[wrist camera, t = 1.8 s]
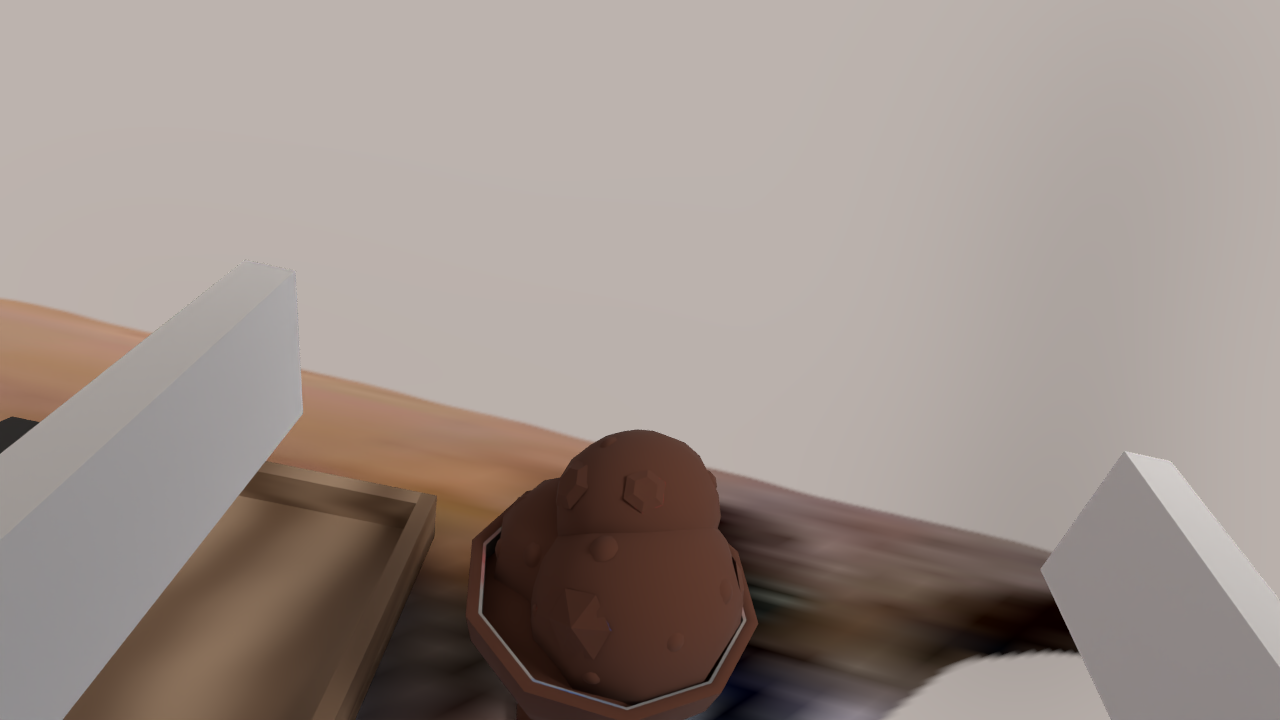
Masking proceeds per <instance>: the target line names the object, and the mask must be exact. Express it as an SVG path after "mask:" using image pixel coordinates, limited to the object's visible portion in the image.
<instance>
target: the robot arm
mask: <svg viewBox="0 0 1280 720" xmlns="http://www.w3.org/2000/svg"><path fill="white" fill-rule="evenodd" d="M302 414H303V404H302V385H301V367H300V348H299V329H298V312H297V292H296V273H295V270H290V269H286V268H281V267H276V266H272V265H267V264H263V263H258V262H254V261H249V260H244V261H243V262H242V263H240V264H239V265H238V266H237V267H235V268H234V269H233V270H232V271H230V272H229V273H228V274H227V275H225V276H224V277H223V278H221V279H220V280H219V281H218V282H216V283H215V284H214V285H213V286H211V287H210V288H209V289H208V290H206V291H205V292H204V293H202V294H201V295H200V296H199V297H198V298H196V299H195V300H194V301H192V302H191V303H190V304H189V305H187V306H186V307H185V308H184V309H182V310H181V311H180V312H179V313H177V314H176V315H175V316H173V317H172V318H171V319H170V320H168V321H167V322H166V323H165V324H163V325H162V326H161V327H160V328H158V329H157V330H156V331H155V332H153V333H152V334H151V335H149V336H148V337H147V338H146V339H144V340H143V341H142V342H141V343H139V344H138V345H137V346H136V347H134V348H133V349H132V350H131V351H129V352H128V353H127V354H126V355H124V356H123V357H122V358H120V359H119V360H118V361H117V362H115V363H114V364H113V365H112V366H110V367H109V368H108V369H107V370H105V371H104V372H103V373H102V374H100V375H99V376H98V377H97V378H95V379H94V380H93V381H91V382H90V383H89V384H88V385H86V386H85V387H84V388H83V389H81V390H80V391H79V392H78V393H76V394H75V395H74V396H73V397H71V398H70V399H69V400H68V401H66V402H65V403H64V404H62V405H61V406H60V407H59V408H57V409H56V410H55V411H54V412H52V413H51V414H50V415H49V416H47V417H46V418H45V419H44V420H42V421H41V422H36V421H31V420H26V419H21V418H17V417H10V418H8V419H5V420H3V421H1V422H0V720H63V719H64V717H65V716H66V715H67V713H68V712H69V711H70V710H71V708H72V707H73V706H74V705H75V703H76V702H77V701H78V699H79V698H80V697H81V696H82V694H83V693H84V692H85V690H86V689H87V688H88V687H89V685H90V684H91V683H92V682H93V680H94V679H95V678H96V676H97V675H98V674H99V673H100V671H101V670H102V669H103V668H104V666H105V665H106V664H107V662H108V661H109V660H110V659H111V657H112V656H113V655H114V654H115V652H116V651H117V650H118V648H119V647H120V646H121V645H122V643H123V642H124V641H125V640H126V638H127V637H128V636H129V634H130V633H131V632H132V631H133V629H134V628H135V627H136V626H137V624H138V623H139V622H140V620H141V619H142V618H143V617H144V615H145V614H146V613H147V612H148V610H149V609H150V608H151V606H152V605H153V604H154V603H155V601H156V600H157V599H158V597H159V596H160V595H161V594H162V592H163V591H164V590H165V589H166V587H167V586H168V585H169V583H170V582H171V581H172V580H173V578H174V577H175V576H176V575H177V573H178V572H179V571H180V569H181V568H182V567H183V566H184V564H185V563H186V562H187V561H188V559H189V558H190V557H191V555H192V554H193V553H194V552H195V550H196V549H197V548H198V547H199V545H200V544H201V543H202V541H203V540H204V539H205V538H206V536H207V535H208V534H209V533H210V531H211V530H212V529H213V527H214V526H215V525H216V524H217V522H218V521H219V520H220V518H221V517H222V516H223V515H224V513H225V512H226V511H227V510H228V508H229V507H230V506H231V504H232V503H233V502H234V501H235V499H236V498H237V497H238V496H239V494H240V493H241V492H242V490H243V489H244V488H245V487H246V485H247V484H248V483H249V482H250V480H251V479H252V478H253V476H254V475H255V474H256V473H257V471H258V470H259V469H260V468H261V466H262V465H263V464H264V462H265V461H266V460H267V459H268V457H269V456H270V455H271V454H272V452H273V451H274V450H275V448H276V447H277V446H278V445H279V443H280V442H281V441H282V439H283V438H284V437H285V436H286V434H287V433H288V432H289V431H290V429H291V428H292V427H293V425H294V424H295V423H296V422H297V420H298V419H299V418H300V417H301V415H302ZM1040 570H1041V572H1042V574H1043V576H1044V578H1045V580H1046V582H1047V585H1048V587H1049V589H1050V591H1051V593H1052V595H1053V597H1054V599H1055V602H1056V604H1057V606H1058V608H1059V610H1060V612H1061V614H1062V616H1063V619H1064V621H1065V623H1066V625H1067V627H1068V629H1069V631H1070V633H1071V636H1072V638H1073V640H1074V642H1075V644H1076V646H1077V648H1078V650H1079V653H1080V655H1081V657H1082V659H1083V661H1084V663H1085V665H1086V667H1087V670H1088V672H1089V674H1090V676H1091V678H1092V680H1093V682H1094V684H1095V686H1096V689H1097V691H1098V693H1099V695H1100V697H1101V699H1102V701H1103V703H1104V706H1105V708H1106V710H1107V712H1108V714H1109V716H1110V718H1111V720H1280V599H1279V598H1278V597H1277V596H1276V594H1275V593H1274V592H1273V590H1272V589H1271V588H1270V587H1269V585H1268V584H1267V583H1266V582H1265V580H1264V579H1263V578H1262V576H1261V575H1260V574H1259V573H1258V571H1257V570H1256V569H1255V568H1254V566H1253V565H1252V564H1251V562H1250V561H1249V560H1248V559H1247V557H1246V556H1245V555H1244V554H1243V552H1242V551H1241V550H1240V549H1239V547H1238V546H1237V545H1236V543H1235V542H1234V541H1233V540H1232V538H1231V537H1230V536H1229V534H1228V533H1227V532H1226V531H1225V529H1224V528H1223V527H1222V526H1221V524H1220V523H1219V522H1218V520H1217V519H1216V518H1215V517H1214V515H1213V514H1212V513H1211V511H1210V510H1209V509H1208V508H1207V507H1206V505H1205V504H1204V503H1203V501H1202V500H1201V499H1200V498H1199V496H1198V495H1197V494H1196V492H1195V491H1194V490H1193V489H1192V487H1191V486H1190V485H1189V483H1188V482H1187V481H1186V480H1185V479H1184V477H1183V476H1182V475H1181V473H1180V472H1179V471H1178V469H1176V467H1175V466H1174V464H1173V463H1172V462H1171V461H1168V460H1163V459H1158V458H1154V457H1149V456H1145V455H1140V454H1136V453H1131V452H1127V451H1124V452H1123V454H1122V455H1121V457H1120V458H1119V459H1118V461H1117V462H1116V464H1115V465H1114V466H1113V468H1112V469H1111V471H1110V472H1109V474H1108V475H1107V477H1106V478H1105V479H1104V481H1103V482H1102V483H1101V485H1100V486H1099V488H1098V489H1097V491H1096V492H1095V493H1094V495H1093V496H1092V497H1091V499H1090V500H1089V502H1088V503H1087V504H1086V506H1085V507H1084V509H1083V510H1082V512H1081V513H1080V514H1079V516H1078V517H1077V519H1076V520H1075V521H1074V523H1073V524H1072V526H1071V527H1070V528H1069V530H1068V531H1067V533H1066V534H1065V535H1064V537H1063V538H1062V540H1061V541H1060V542H1059V544H1058V545H1057V547H1056V548H1055V549H1054V551H1053V552H1052V554H1051V555H1050V557H1049V558H1048V559H1047V561H1046V562H1045V564H1044V565H1043V566H1042V568H1041V569H1040Z"/></svg>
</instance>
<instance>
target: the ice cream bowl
mask: <svg viewBox="0 0 1280 720" xmlns="http://www.w3.org/2000/svg"><path fill="white" fill-rule="evenodd" d="M716 487H717V484H716V478H715V476H714V475H713V474H712V473H711V472H710V471H708V470H706V468H705V466H704V464H703V462H702V460H701V458H700V456H699V455H698V454H697V453H696V452H695V451H693V450H692V449H691V448H690V447H689V446H688V445H687V444H686V443H684V442H681V441H679V440H677V439H674V438H671V437H668V436H666V435H663V434H660V433H658V432H655V431H647V430H631V431H624V432H619V433H615V434H612V435H608V436H605V437H604V438H602V439H600V440H598V441H597V442H595V443H593V444H591V445H590V446H589V447H587V448H586V449H585V450H583V451H582V452H581V453H580V454H578V455H577V456H576V457H574V458H573V459H572V460H571V461H570V463H569V465H568V466H567V468H566V469H565V471H564V473H563V474H562V476H561V477H560V478H555V479H550V480H545V481H543V482H542V483H541V484H539V485H538V486H537V487H536V488H534V489H533V490H531V491H526V492H525V493H524V494H523V495H522V496H521V497H519V498H518V499H517V500H516V501H515V502H514V503H513V504H512V505H511V506H510V507H509V508H507V509H506V510H505V511H504V512H503V513H502V514H501V515H500V516H498V517H497V518H496V519H495V520H494V521H493V522H492V523H491V524H490V525H488V526H487V527H486V528H485V529H484V530H483V531H482V532H481V533H479V534H478V535H477V536H476V537H475V538H474V539H473V540H472V550H471V561H470V572H469V584H468V595H467V606H466V620H467V625H468V630H469V634H470V639H471V641H472V643H473V644H474V645H475V647H476V648H477V649H478V651H479V652H480V653H481V655H482V656H483V657H484V659H485V660H486V661H487V663H488V664H489V665H490V667H491V668H492V669H493V671H494V672H495V673H496V674H497V676H498V677H499V678H500V680H501V681H502V682H503V684H504V685H505V686H506V688H507V689H508V690H509V692H510V693H511V694H512V695H513V697H514V698H515V699H516V701H517V702H518V704H517V720H684V719H687V718H689V717H692V716H694V715H697V714H699V713H702V712H704V711H705V710H706V709H707V708H708V707H709V706H710V705H711V704H712V703H713V701H714V700H715V699H716V698H717V697H718V696H719V695H720V693H721V692H722V690H723V688H724V686H725V685H726V683H727V681H728V679H729V677H730V675H731V673H732V672H733V670H734V668H735V666H736V664H737V662H738V660H739V659H740V657H741V655H742V653H743V651H744V649H745V647H746V645H747V644H748V642H749V640H750V638H751V636H752V634H753V632H754V631H755V629H756V627H757V625H758V621H757V618H756V614H755V611H754V607H753V604H752V600H751V597H750V593H749V590H748V586H747V583H746V579H745V576H744V572H743V569H742V565H741V562H740V558H739V555H738V552H737V551H736V550H735V549H734V548H733V547H731V546H730V545H729V544H728V543H727V541H726V539H725V537H724V536H723V535H722V534H721V532H720V531H719V530H718V525H719V521H720V517H721V515H720V505H719V495H718V492H717V490H716Z"/></svg>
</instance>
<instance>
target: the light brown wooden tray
mask: <svg viewBox="0 0 1280 720" xmlns="http://www.w3.org/2000/svg"><path fill="white" fill-rule="evenodd" d="M436 501H437V496H435V495H430V494H425V493H420V492H416V491H411V490H406V489H401V488H396V487H391V486H386V485H381V484H376V483H371V482H366V481H361V480H357V479H352V478H347V477H342V476H337V475H332V474H327V473H322V472H317V471H312V470H307V469H302V468H297V467H293V466H288V465H283V464H278V463H273V462H268V461H265V462H264V464H263V465H262V466H261V468H260V469H259V470H258V471H257V473H256V474H255V475H254V476H253V478H252V479H251V480H250V482H249V483H248V484H247V485H246V487H245V488H244V489H243V490H242V492H241V493H240V494H239V496H238V497H237V498H236V499H235V501H234V502H233V503H232V504H231V506H230V507H229V508H228V510H227V511H226V512H225V513H224V515H223V516H222V517H221V518H220V520H219V521H218V522H217V524H216V525H215V526H214V527H213V529H212V530H211V531H210V533H209V534H208V535H207V536H206V538H205V539H204V540H203V541H202V543H201V544H200V545H199V547H198V548H197V549H196V550H195V552H194V553H193V554H192V555H191V557H190V558H189V559H188V561H187V562H186V563H185V564H184V566H183V567H182V568H181V569H180V571H179V572H178V573H177V575H176V576H175V577H174V578H173V580H172V581H171V582H170V583H169V585H168V586H167V587H166V589H165V590H164V591H163V592H162V594H161V595H160V596H159V597H158V599H157V600H156V601H155V603H154V604H153V605H152V606H151V608H150V609H149V610H148V612H147V613H146V614H145V615H144V617H143V618H142V619H141V620H140V622H139V623H138V624H137V626H136V627H135V628H134V629H133V631H132V632H131V633H130V634H129V636H128V637H127V638H126V640H125V641H124V642H123V643H122V645H121V646H120V647H119V648H118V650H117V651H116V652H115V654H114V655H113V656H112V657H111V659H110V660H109V661H108V662H107V664H106V665H105V666H104V668H103V669H102V670H101V671H100V673H99V674H98V675H97V676H96V678H95V679H94V680H93V682H92V683H91V684H90V685H89V687H88V688H87V689H86V690H85V692H84V693H83V694H82V696H81V697H80V698H79V699H78V701H77V702H76V703H75V705H74V706H73V707H72V708H71V710H70V711H69V712H68V713H67V715H66V716H65V717H64V719H63V720H355V719H356V717H357V714H358V712H359V710H360V707H361V705H362V703H363V700H364V698H365V696H366V693H367V691H368V689H369V686H370V684H371V682H372V679H373V677H374V675H375V673H376V670H377V668H378V666H379V663H380V661H381V659H382V656H383V654H384V652H385V649H386V647H387V645H388V642H389V640H390V638H391V635H392V633H393V631H394V629H395V626H396V624H397V622H398V619H399V617H400V615H401V612H402V610H403V608H404V605H405V603H406V601H407V598H408V596H409V594H410V591H411V589H412V587H413V584H414V582H415V580H416V578H417V575H418V573H419V571H420V568H421V566H422V564H423V561H424V559H425V557H426V554H427V552H428V550H429V547H430V545H431V543H432V540H433V538H434V533H435V517H436Z"/></svg>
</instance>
